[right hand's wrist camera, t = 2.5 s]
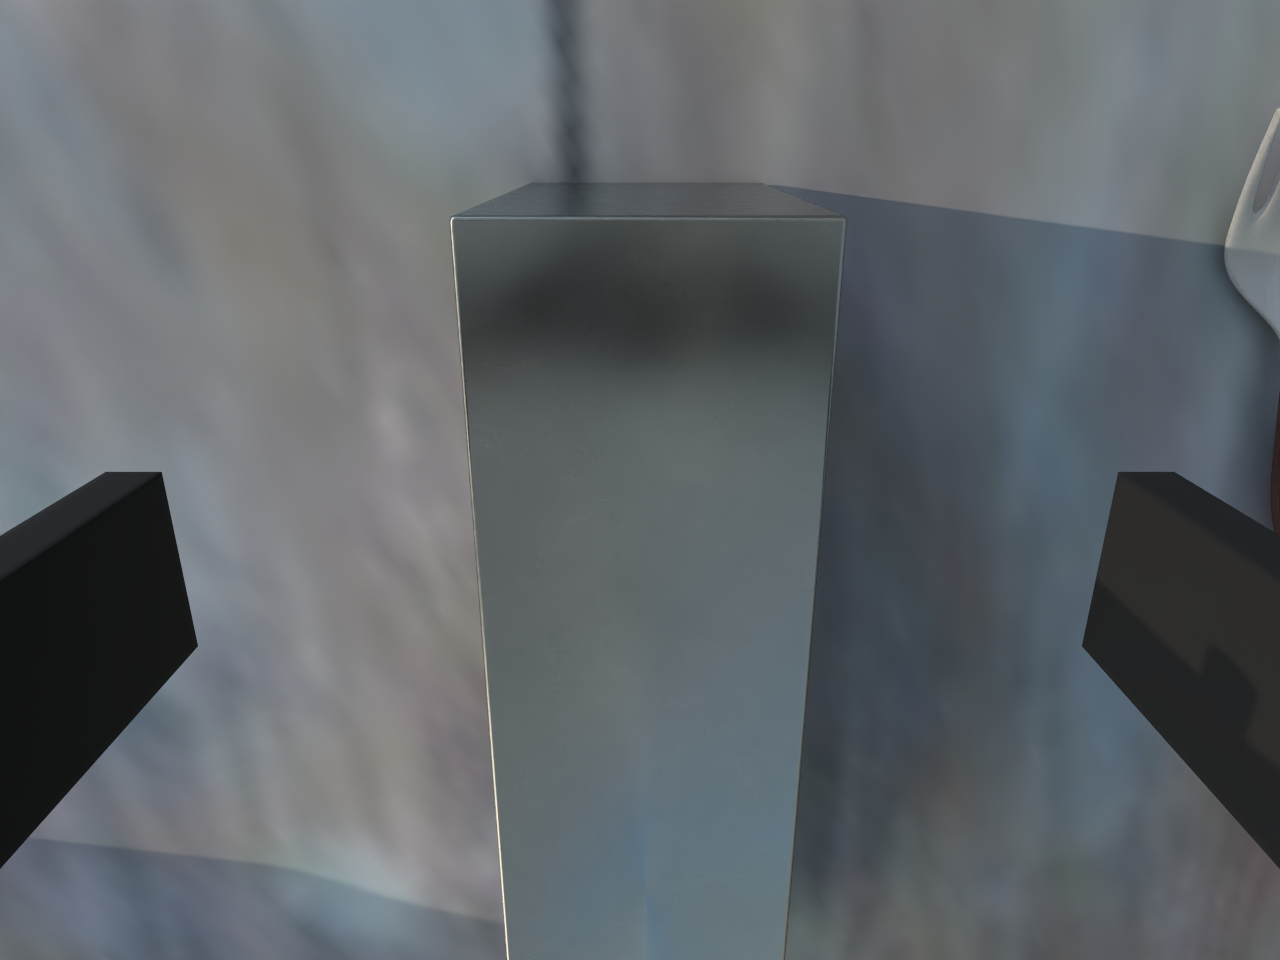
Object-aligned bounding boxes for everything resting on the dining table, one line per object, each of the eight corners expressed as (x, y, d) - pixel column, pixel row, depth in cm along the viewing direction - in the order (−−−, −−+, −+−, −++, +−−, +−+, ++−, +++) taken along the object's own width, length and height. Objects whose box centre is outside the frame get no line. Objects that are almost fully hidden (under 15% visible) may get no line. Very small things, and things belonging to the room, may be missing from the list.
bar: (528, 183, 21) (448, 215, 12) (764, 182, 21) (848, 216, 12) (562, 953, 30) (530, 1278, 22) (725, 954, 30) (758, 1279, 22)
